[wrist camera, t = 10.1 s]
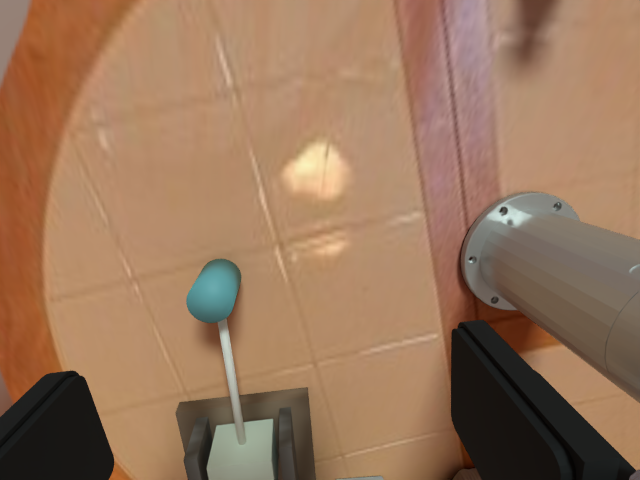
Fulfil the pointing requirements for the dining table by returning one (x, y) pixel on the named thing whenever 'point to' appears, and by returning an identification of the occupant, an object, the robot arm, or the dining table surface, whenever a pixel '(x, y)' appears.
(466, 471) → the garlic bulb
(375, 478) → the coffee box
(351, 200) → the dining table surface
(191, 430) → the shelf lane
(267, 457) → the cube with teal knob
